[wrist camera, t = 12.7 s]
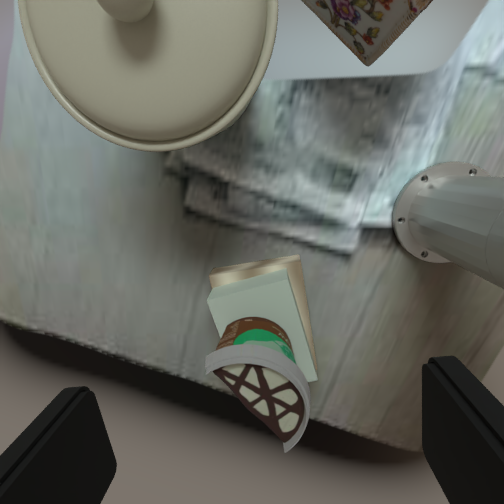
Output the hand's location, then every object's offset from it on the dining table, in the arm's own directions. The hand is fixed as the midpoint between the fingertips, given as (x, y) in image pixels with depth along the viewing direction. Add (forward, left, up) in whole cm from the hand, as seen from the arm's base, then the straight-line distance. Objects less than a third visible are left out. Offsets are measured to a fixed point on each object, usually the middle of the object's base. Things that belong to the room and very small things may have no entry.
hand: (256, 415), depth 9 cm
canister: (+6, -18, -34) cm, 38 cm away
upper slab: (+2, +14, -30) cm, 33 cm away
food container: (+1, +13, -26) cm, 30 cm away
